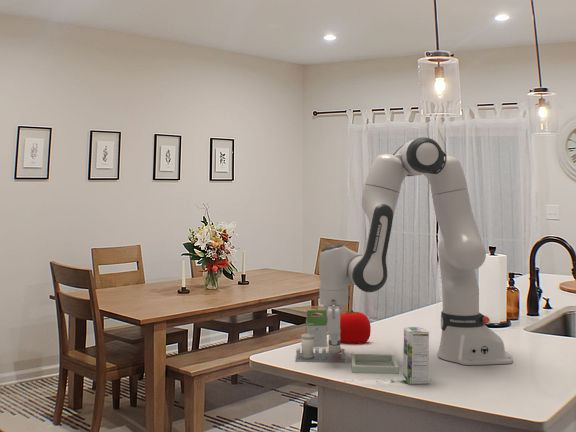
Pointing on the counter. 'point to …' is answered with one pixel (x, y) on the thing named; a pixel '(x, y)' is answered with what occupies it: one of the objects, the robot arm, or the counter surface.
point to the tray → (374, 369)
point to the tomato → (354, 328)
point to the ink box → (317, 327)
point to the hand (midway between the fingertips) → (334, 341)
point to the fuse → (334, 348)
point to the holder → (316, 352)
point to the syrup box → (416, 355)
